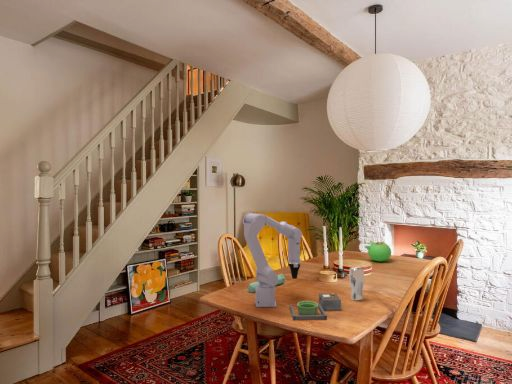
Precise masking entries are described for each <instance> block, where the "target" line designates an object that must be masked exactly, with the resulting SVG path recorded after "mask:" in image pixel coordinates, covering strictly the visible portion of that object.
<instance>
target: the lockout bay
mask: <svg viewBox="0 0 512 384" xmlns="http://www.w3.org/2000/svg"><path fill="white" fill-rule="evenodd" d="M317 304H318V309H319V312H320V314H317V315H299V314H298V315H296V313H295V311H294V307H293V304H289V310H290V314H291V317H292V320H293V321H308V320H309V321H310V320H311V321H315V320H316V321H318V320H319V321H322V320H324V321H325V320H326V321H327V320H328V316H327V314H326V312H325V310H323V308H322V306H321V304H319V303H317Z"/></svg>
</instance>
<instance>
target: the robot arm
mask: <svg viewBox="0 0 512 384" xmlns="http://www.w3.org/2000/svg"><path fill="white" fill-rule="evenodd" d="M242 224H243V236H244V240H245V242H246V244H247V246H248V249H249V251H250V254H251V256H252V259H253V261H254V264H255V266H256V269H255V271H254V272H255V275H256V276H255V277H256V280H257V281H258V282H259V286H256V292H255V298H254V302H255V308H272V307H273V308H277V303H276V286H277V285H276V284H277V282H278V276H277V275H278V274H277V273H276V272H275V270H274V269H273V268H272V267H271V266H270V265H269V263H268V261H267V257H266V256H265V252H264V250H263V248H262V245H261V243H260V240H259V237H258V234H260V232H261V230H263V228H264V227H265V226H269V227H271V228H274V229H275V230H276V232H277V233H278V234H280V235H283V236H285V237H286V238H287V241H288V242H287V243H288V244H287V246H288V247H287V248H288V252H287V253H288V254H287V255H288V256H287V257H288V259H287V262H288V267H289V269H290V275H291V278H292V280H296V279H298V275H299V274H298V273H299V271H300V268H301V264H300V263H301V262H303V259H301V248H300V247H301V241H302V240H301V239H302V237H303V233H302V230H301V229H300V228H299V227H295V226H294V225H293V224H288V221H280V222H278V221H276V220H275V219H273V218H271V217H270V216H268V215H266V214H263V213H252V212H247V213H245V215H244V217H243V220H242ZM257 281H256V282H257Z"/></svg>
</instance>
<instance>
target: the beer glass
mask: <svg viewBox="0 0 512 384" xmlns="http://www.w3.org/2000/svg"><path fill="white" fill-rule="evenodd" d="M348 277H349V286H350V291H351V292H350V300H352V301H356V302H361V301H364V296H363V291H364V290H363V289H364V282H365V272H364V267H361V266H351V267H349V273H348Z"/></svg>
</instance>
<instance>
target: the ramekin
mask: <svg viewBox="0 0 512 384" xmlns="http://www.w3.org/2000/svg"><path fill="white" fill-rule="evenodd" d="M318 304H319V303H318V302H315V301H313V300H312V301H311V300H301V301H298V302H297V305H296V306H297V313H298V315H318V309H319V308H318Z"/></svg>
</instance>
